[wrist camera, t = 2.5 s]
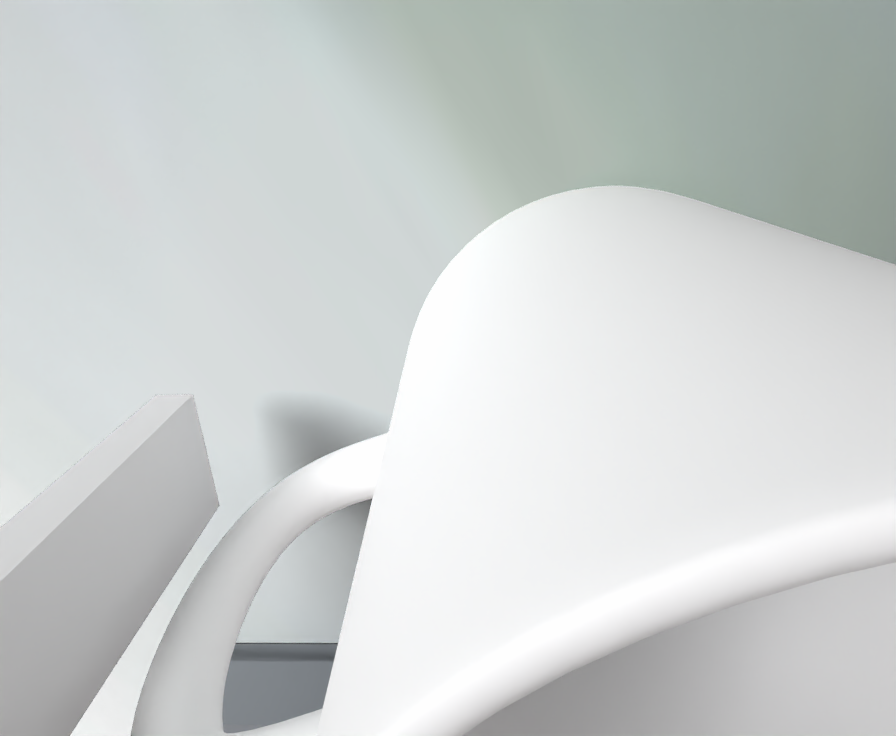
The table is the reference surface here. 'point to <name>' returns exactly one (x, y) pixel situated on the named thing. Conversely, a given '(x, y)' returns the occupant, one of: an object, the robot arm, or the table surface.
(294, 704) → the grey tray
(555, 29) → the table surface
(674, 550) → the cup
